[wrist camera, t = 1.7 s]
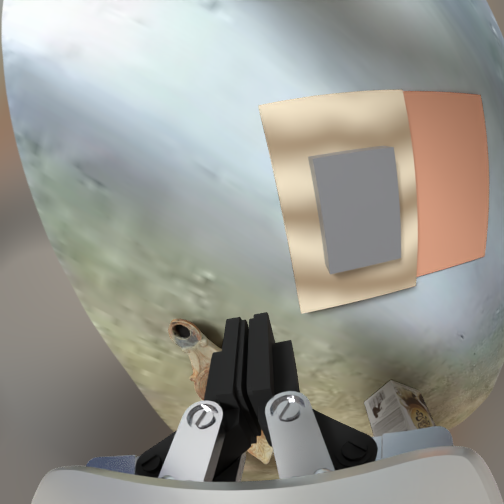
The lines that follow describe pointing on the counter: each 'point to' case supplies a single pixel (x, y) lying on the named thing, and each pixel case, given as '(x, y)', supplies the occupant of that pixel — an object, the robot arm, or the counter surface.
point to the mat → (449, 177)
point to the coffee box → (397, 409)
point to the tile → (357, 207)
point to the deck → (303, 197)
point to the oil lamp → (207, 370)
